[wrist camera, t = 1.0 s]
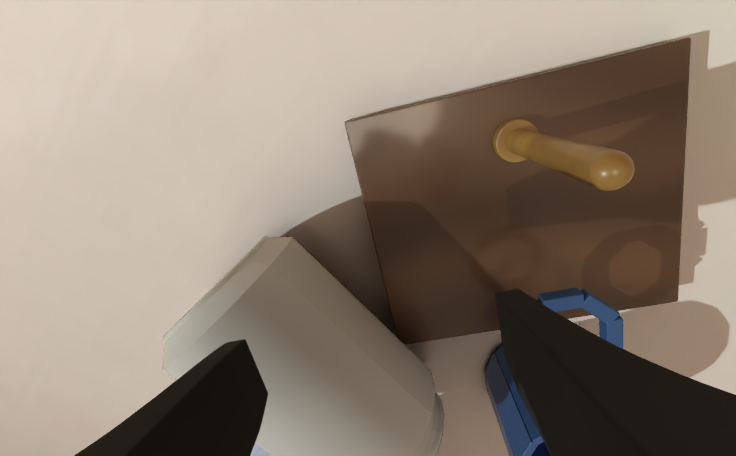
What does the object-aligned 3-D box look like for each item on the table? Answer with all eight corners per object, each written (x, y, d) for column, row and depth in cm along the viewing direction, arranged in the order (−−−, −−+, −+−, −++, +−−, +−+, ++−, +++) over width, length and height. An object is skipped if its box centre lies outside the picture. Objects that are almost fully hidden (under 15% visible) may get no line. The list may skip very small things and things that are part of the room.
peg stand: (661, 289, 19) (879, 441, 10) (398, 332, 21) (405, 491, 12) (669, 41, 15) (1021, -33, 7) (347, 120, 17) (305, 140, 8)
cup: (579, 398, 21) (647, 505, 16) (489, 410, 22) (524, 516, 16) (570, 234, 18) (652, 294, 12) (464, 254, 19) (497, 320, 13)
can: (127, 371, 15) (324, 524, 18) (176, 324, 11) (439, 541, 13) (237, 262, 21) (377, 389, 23) (302, 199, 16) (470, 365, 18)
